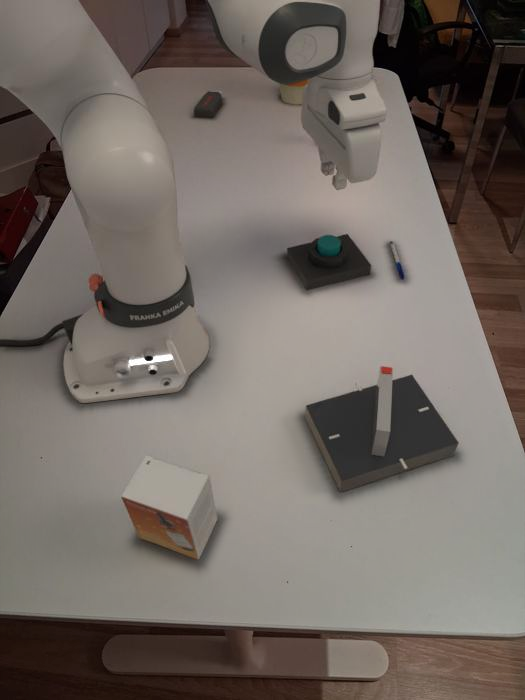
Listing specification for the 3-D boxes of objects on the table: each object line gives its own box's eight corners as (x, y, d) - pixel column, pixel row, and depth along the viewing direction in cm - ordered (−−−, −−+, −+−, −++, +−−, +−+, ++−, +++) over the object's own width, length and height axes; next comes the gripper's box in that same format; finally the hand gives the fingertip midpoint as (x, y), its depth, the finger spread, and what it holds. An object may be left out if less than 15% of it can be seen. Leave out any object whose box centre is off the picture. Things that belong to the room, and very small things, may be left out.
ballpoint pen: (405, 279, 94) (406, 275, 93) (400, 279, 94) (401, 275, 93) (392, 243, 101) (393, 239, 100) (387, 243, 101) (388, 239, 100)
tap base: (343, 500, 66) (345, 487, 64) (302, 412, 75) (302, 398, 73) (458, 462, 69) (464, 449, 67) (404, 382, 78) (408, 368, 76)
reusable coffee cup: (265, 98, 148) (263, 38, 137) (297, 84, 154) (298, 25, 143) (297, 111, 142) (298, 49, 131) (330, 96, 147) (333, 36, 136)
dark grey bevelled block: (194, 116, 142) (192, 106, 140) (207, 98, 150) (206, 88, 148) (213, 118, 141) (212, 107, 139) (225, 99, 149) (224, 89, 147)
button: (322, 258, 93) (322, 250, 92) (313, 245, 96) (314, 237, 94) (343, 253, 94) (344, 245, 92) (334, 241, 96) (335, 232, 95)
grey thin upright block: (384, 456, 67) (390, 430, 62) (371, 455, 67) (376, 428, 63) (387, 394, 73) (393, 366, 69) (375, 392, 73) (380, 364, 69)
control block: (306, 290, 93) (307, 272, 90) (287, 257, 99) (286, 239, 96) (370, 275, 95) (372, 256, 92) (346, 243, 102) (348, 225, 99)
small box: (138, 538, 64) (117, 496, 56) (161, 497, 67) (144, 452, 60) (199, 562, 62) (186, 521, 54) (219, 518, 65) (210, 474, 57)
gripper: (291, 67, 81) (291, 154, 91) (348, 123, 67) (340, 217, 78) (330, 60, 82) (325, 147, 92) (393, 114, 69) (380, 208, 79)
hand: (333, 180), depth 85 cm, fingers open, 3 cm apart
